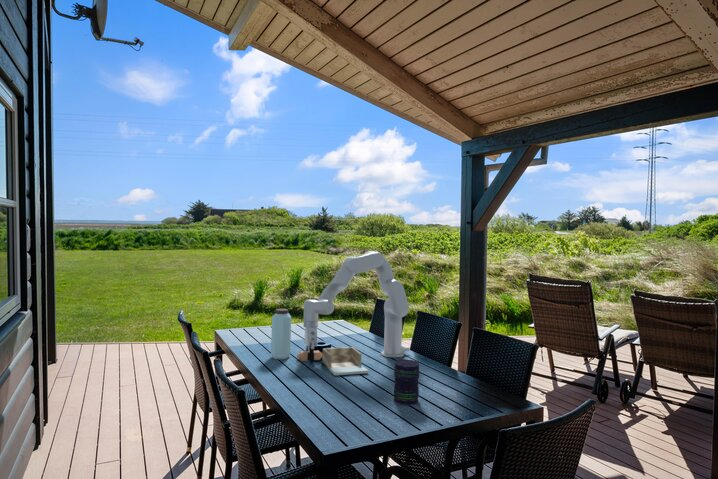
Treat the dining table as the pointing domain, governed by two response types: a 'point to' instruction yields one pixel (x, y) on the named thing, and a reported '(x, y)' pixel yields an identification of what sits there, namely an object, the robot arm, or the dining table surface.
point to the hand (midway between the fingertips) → (309, 358)
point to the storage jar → (406, 382)
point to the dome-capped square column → (304, 355)
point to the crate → (341, 357)
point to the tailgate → (348, 370)
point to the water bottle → (281, 334)
